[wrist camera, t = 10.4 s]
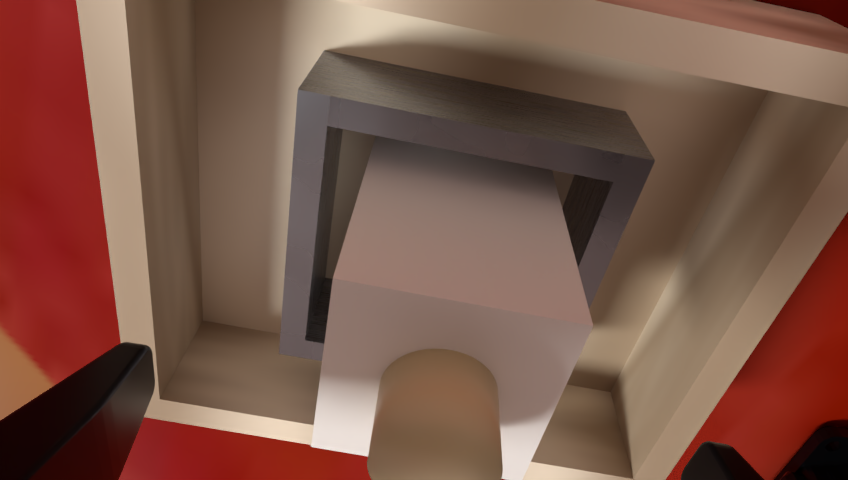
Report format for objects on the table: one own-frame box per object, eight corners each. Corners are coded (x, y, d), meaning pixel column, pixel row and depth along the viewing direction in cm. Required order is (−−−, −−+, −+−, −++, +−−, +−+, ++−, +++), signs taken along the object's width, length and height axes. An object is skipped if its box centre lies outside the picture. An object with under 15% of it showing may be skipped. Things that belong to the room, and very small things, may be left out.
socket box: (819, 14, 13) (941, 74, 10) (619, 389, 20) (650, 501, 16) (170, -126, 12) (60, -114, 9) (189, 313, 19) (130, 414, 16)
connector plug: (547, 154, 14) (613, 402, 8) (503, 286, 16) (528, 561, 10) (379, 121, 14) (311, 349, 8) (358, 259, 16) (291, 523, 10)
